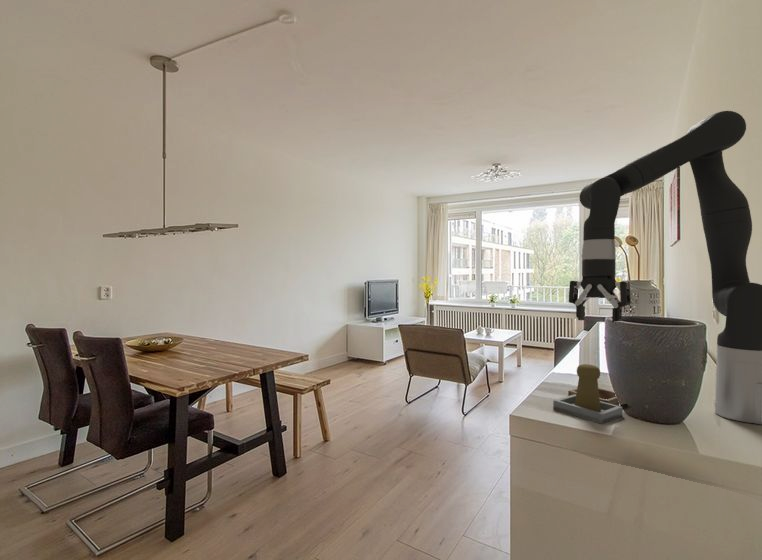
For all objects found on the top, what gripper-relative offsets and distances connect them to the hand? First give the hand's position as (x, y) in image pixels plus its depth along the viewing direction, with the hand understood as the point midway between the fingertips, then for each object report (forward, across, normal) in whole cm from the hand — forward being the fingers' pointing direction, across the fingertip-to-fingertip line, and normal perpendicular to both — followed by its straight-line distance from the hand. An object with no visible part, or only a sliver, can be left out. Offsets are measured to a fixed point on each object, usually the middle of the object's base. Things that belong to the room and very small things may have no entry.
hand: (597, 321), depth 101 cm
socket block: (+22, +3, -6) cm, 23 cm away
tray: (+22, 0, +5) cm, 23 cm away
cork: (+22, 0, +5) cm, 22 cm away
